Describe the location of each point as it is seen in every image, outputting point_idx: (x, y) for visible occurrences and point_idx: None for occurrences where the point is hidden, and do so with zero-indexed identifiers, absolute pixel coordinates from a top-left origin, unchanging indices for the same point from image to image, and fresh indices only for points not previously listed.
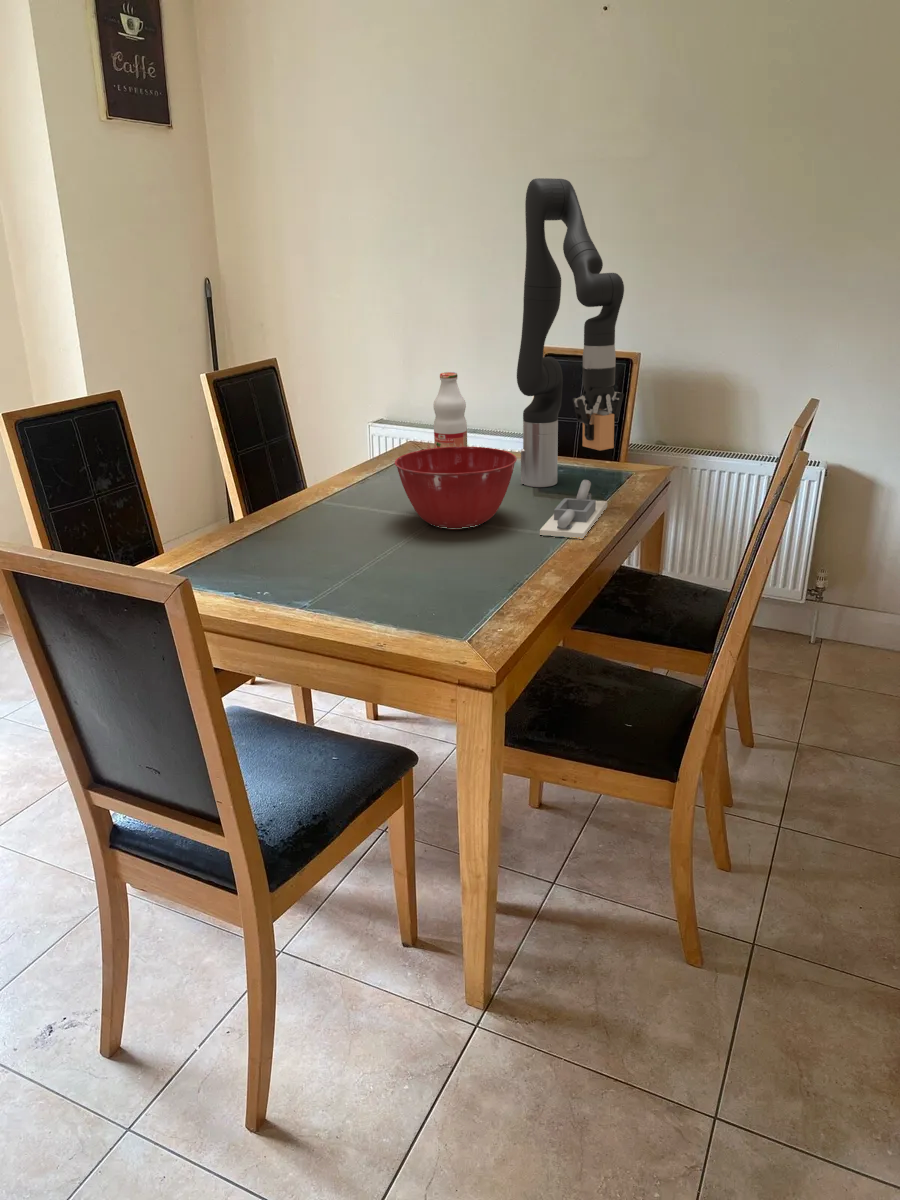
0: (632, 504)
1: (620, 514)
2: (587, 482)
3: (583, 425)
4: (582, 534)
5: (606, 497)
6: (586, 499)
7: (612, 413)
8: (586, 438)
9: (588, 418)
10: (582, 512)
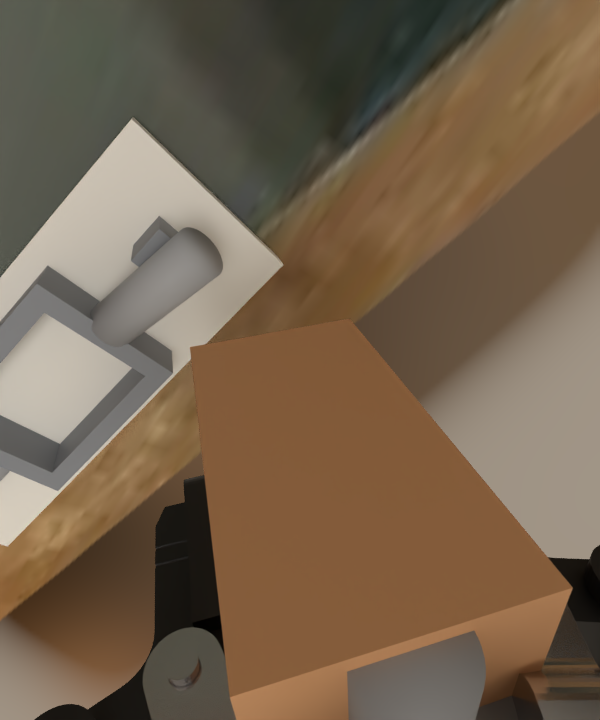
0: (382, 267)
1: None
2: (194, 285)
3: (210, 504)
4: (5, 542)
5: (368, 113)
6: (137, 351)
7: (594, 659)
8: (184, 487)
9: (230, 709)
10: (43, 482)
